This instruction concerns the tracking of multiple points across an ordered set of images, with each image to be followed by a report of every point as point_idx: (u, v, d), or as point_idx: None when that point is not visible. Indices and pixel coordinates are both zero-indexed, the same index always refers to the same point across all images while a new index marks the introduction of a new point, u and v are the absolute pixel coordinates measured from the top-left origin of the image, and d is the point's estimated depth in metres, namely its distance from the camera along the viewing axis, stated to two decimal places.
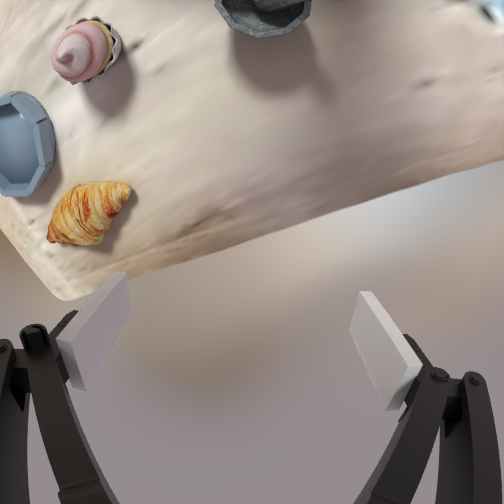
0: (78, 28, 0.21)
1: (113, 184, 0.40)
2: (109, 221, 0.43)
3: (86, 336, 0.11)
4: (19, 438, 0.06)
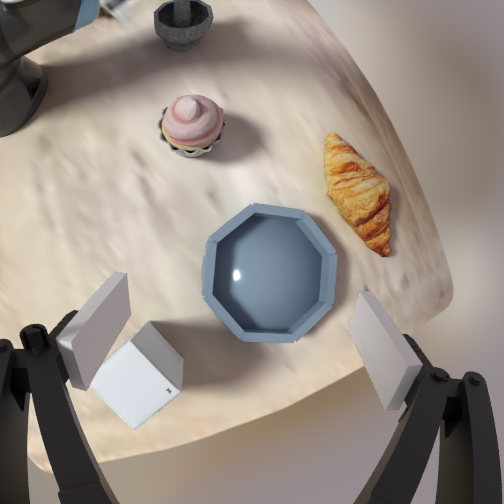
0: (171, 106, 0.33)
1: (326, 145, 0.43)
2: None
3: (86, 336, 0.11)
4: (19, 438, 0.06)
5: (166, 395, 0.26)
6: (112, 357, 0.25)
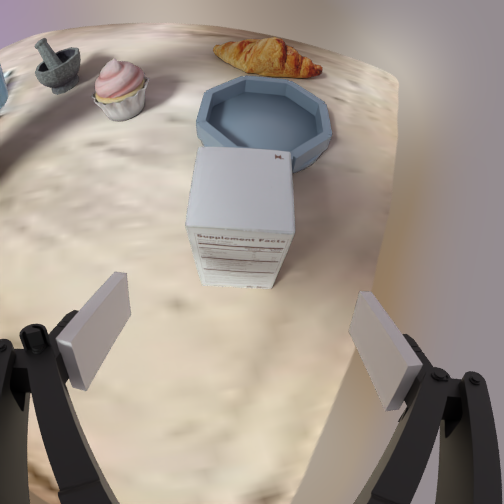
0: (97, 80, 0.34)
1: (218, 52, 0.47)
2: None
3: (86, 336, 0.11)
4: (19, 438, 0.06)
5: (281, 163, 0.22)
6: (194, 173, 0.21)
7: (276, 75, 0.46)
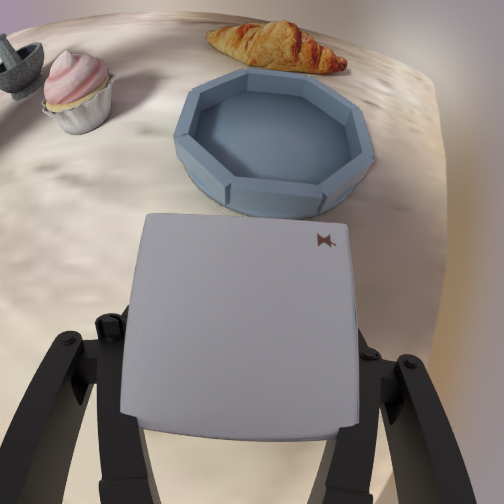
0: (46, 81, 0.22)
1: (212, 40, 0.35)
2: None
3: None
4: (69, 431, 0.07)
5: (333, 257, 0.10)
6: (134, 286, 0.09)
7: (287, 69, 0.34)
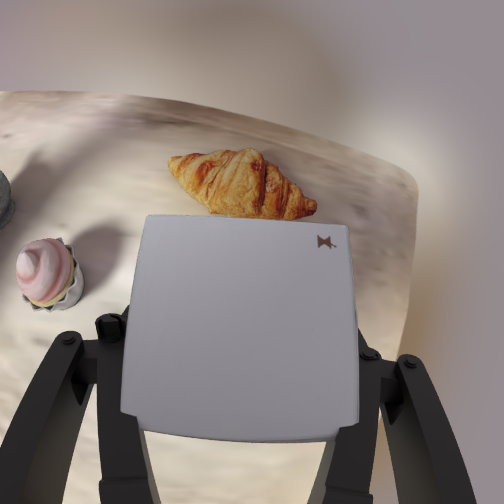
0: (16, 275, 0.26)
1: (173, 174, 0.39)
2: None
3: None
4: (69, 431, 0.07)
5: (333, 258, 0.10)
6: (134, 288, 0.09)
7: None
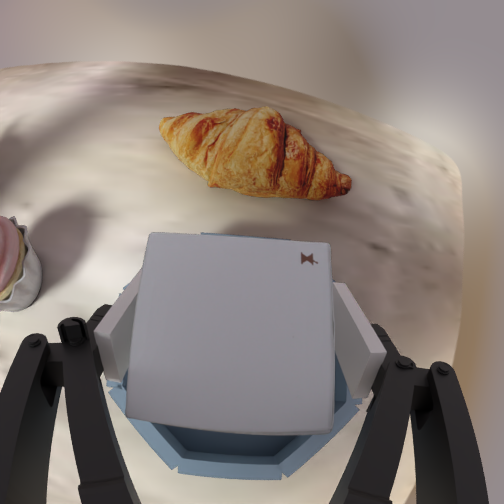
0: None
1: (164, 137, 0.29)
2: None
3: (122, 328, 0.12)
4: (44, 433, 0.07)
5: (314, 274, 0.11)
6: (139, 298, 0.10)
7: (263, 196, 0.28)
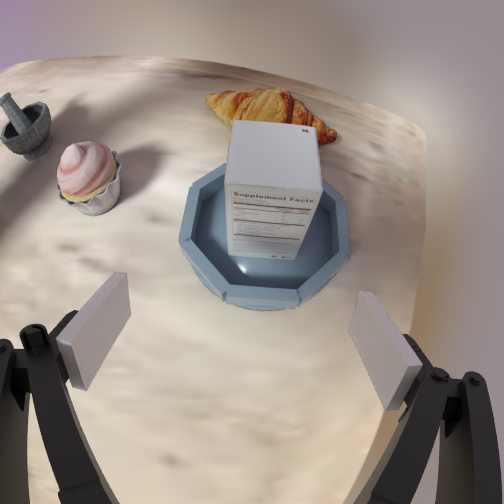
0: (58, 171, 0.29)
1: (210, 105, 0.42)
2: None
3: (86, 336, 0.11)
4: (19, 438, 0.06)
5: (308, 135, 0.23)
6: (231, 140, 0.23)
7: None
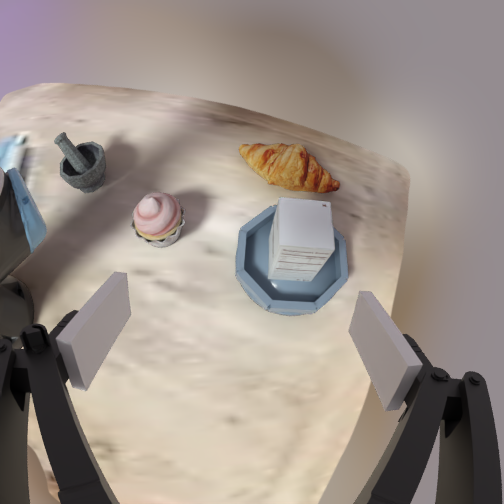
0: (136, 216, 0.43)
1: (243, 155, 0.57)
2: None
3: (86, 336, 0.11)
4: (18, 438, 0.06)
5: (326, 209, 0.39)
6: (279, 214, 0.38)
7: (296, 190, 0.56)
